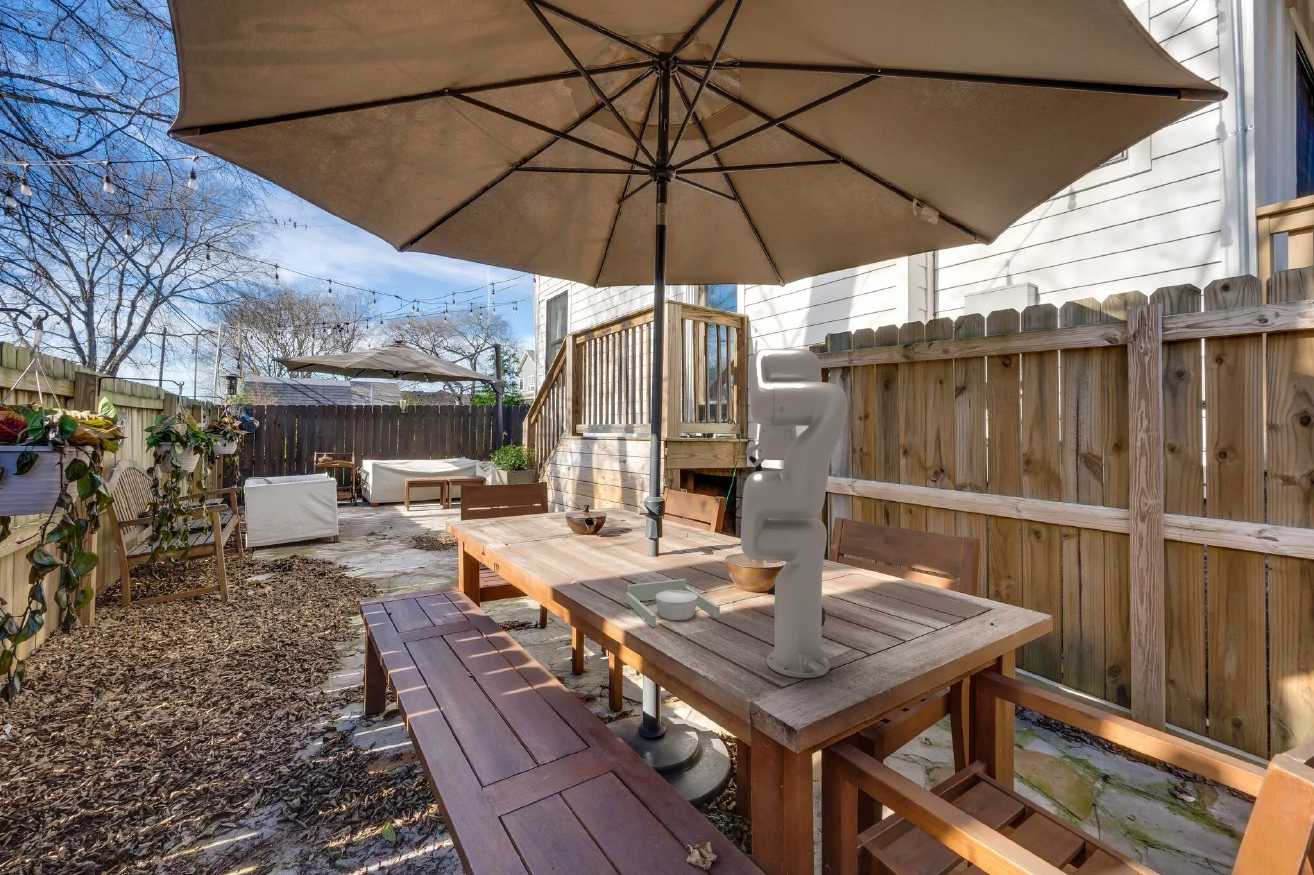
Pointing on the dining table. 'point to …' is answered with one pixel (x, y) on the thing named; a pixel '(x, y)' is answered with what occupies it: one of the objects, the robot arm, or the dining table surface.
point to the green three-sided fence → (652, 589)
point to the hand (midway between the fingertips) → (777, 481)
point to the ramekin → (676, 604)
